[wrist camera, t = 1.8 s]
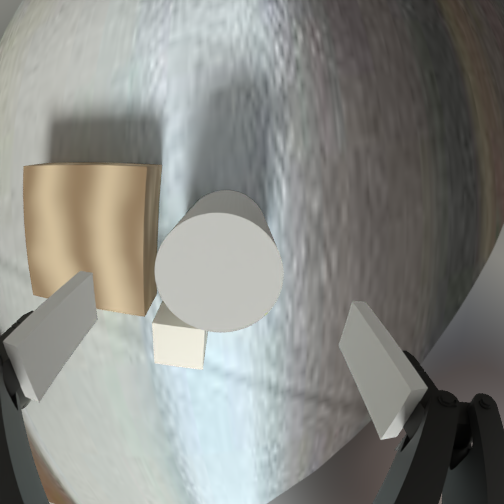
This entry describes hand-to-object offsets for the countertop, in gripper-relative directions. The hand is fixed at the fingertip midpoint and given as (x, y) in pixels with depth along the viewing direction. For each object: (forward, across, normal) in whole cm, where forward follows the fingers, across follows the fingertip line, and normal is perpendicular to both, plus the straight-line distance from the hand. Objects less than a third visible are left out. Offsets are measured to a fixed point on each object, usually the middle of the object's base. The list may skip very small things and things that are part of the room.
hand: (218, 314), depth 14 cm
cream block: (+17, -4, -11) cm, 20 cm away
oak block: (+16, -14, -1) cm, 22 cm away
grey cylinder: (+17, 0, 0) cm, 17 cm away
